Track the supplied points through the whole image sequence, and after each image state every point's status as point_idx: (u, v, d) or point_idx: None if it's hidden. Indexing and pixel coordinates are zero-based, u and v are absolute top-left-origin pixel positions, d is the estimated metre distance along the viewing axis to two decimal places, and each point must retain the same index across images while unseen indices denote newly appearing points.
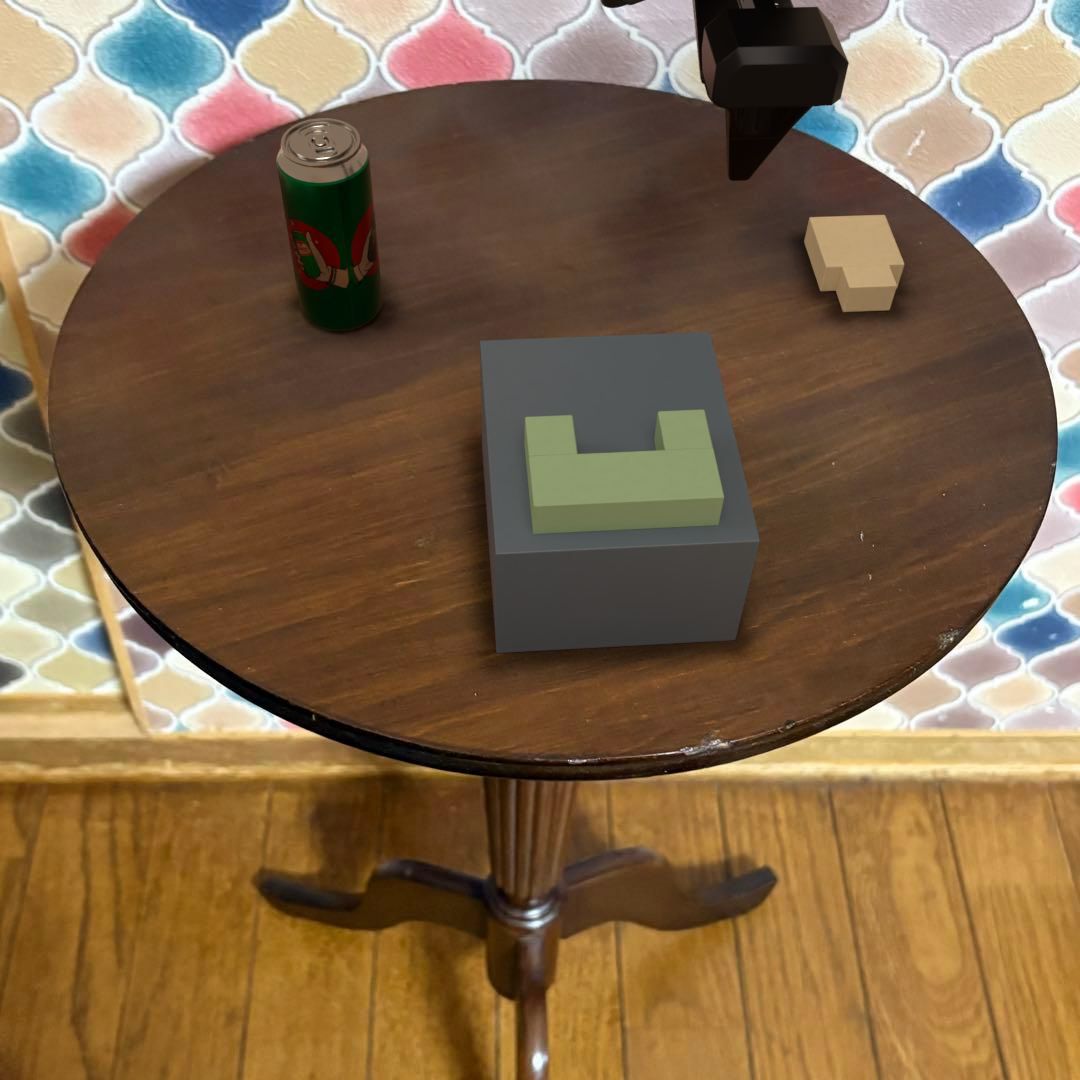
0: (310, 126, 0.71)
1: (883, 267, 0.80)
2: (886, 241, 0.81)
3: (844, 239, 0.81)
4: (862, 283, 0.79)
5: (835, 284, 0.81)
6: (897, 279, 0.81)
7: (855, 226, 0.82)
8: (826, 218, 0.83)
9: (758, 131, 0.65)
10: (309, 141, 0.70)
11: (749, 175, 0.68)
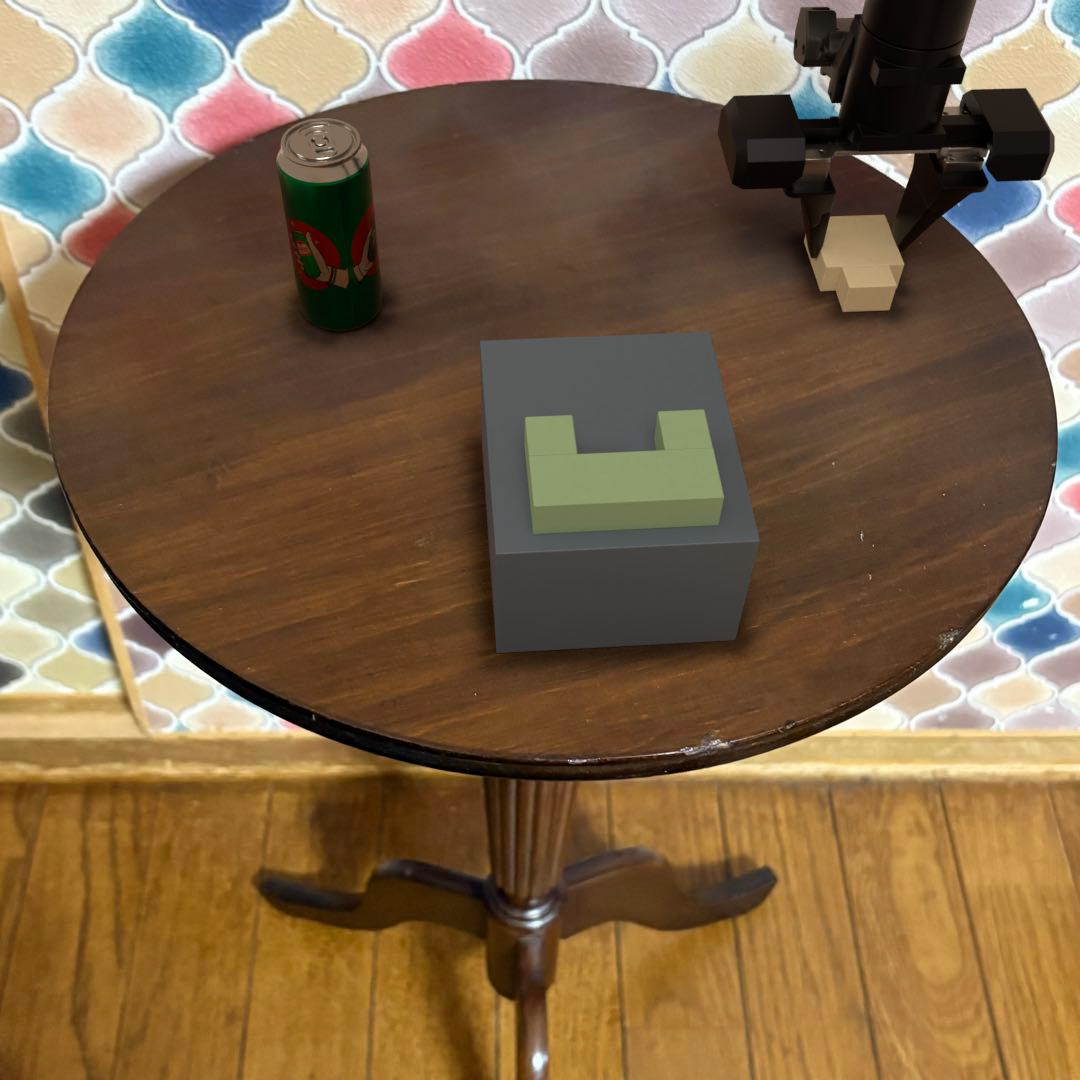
0: (310, 126, 0.71)
1: (883, 267, 0.80)
2: (886, 241, 0.81)
3: (844, 239, 0.81)
4: (862, 283, 0.79)
5: (835, 284, 0.81)
6: (897, 279, 0.81)
7: (855, 226, 0.82)
8: None
9: None
10: (309, 141, 0.70)
11: (810, 253, 0.81)
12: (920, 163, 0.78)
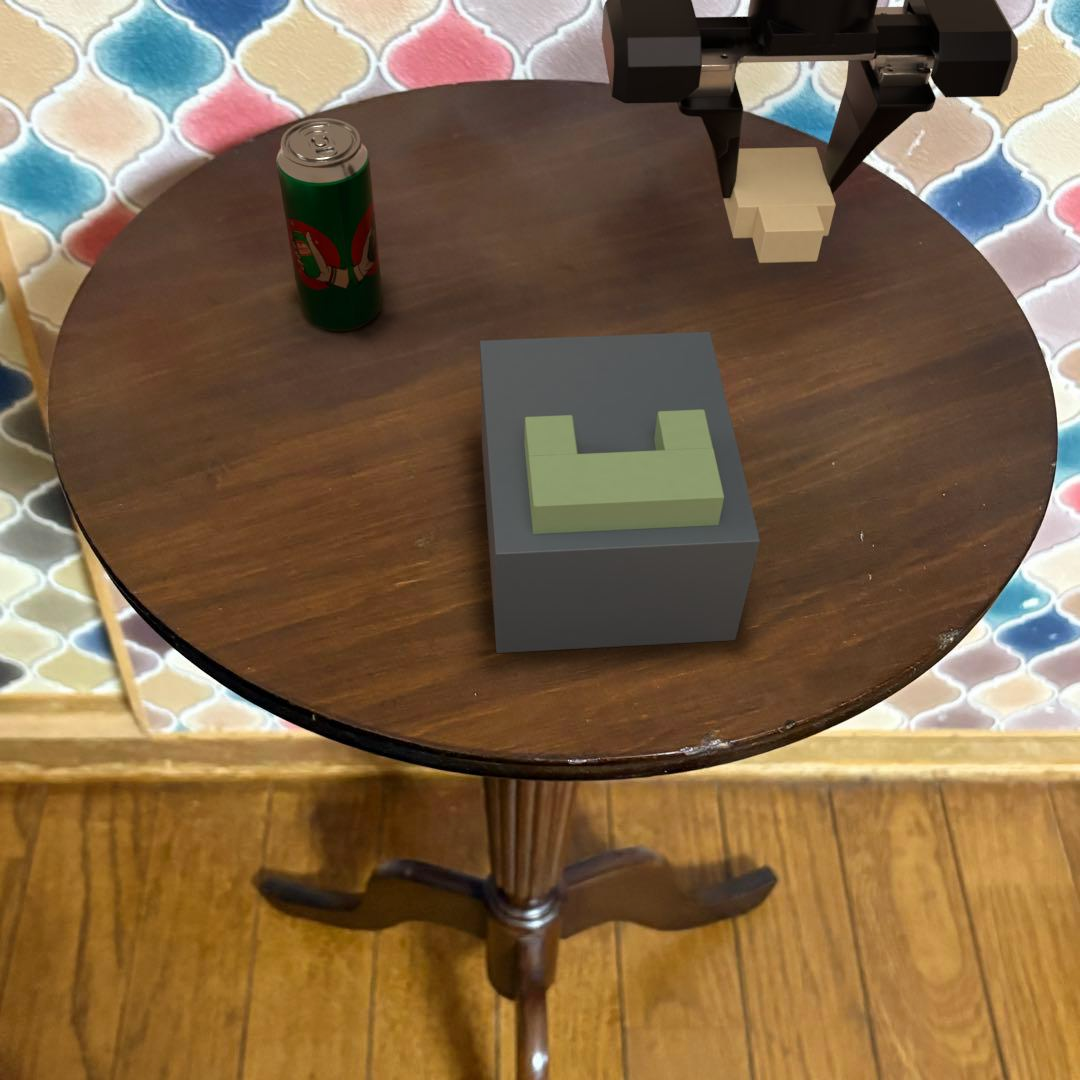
0: (310, 126, 0.71)
1: (809, 208, 0.65)
2: (815, 177, 0.66)
3: (763, 175, 0.66)
4: (781, 227, 0.64)
5: (751, 229, 0.66)
6: (827, 224, 0.66)
7: (778, 160, 0.67)
8: (744, 150, 0.68)
9: None
10: (309, 141, 0.70)
11: None
12: (854, 78, 0.63)
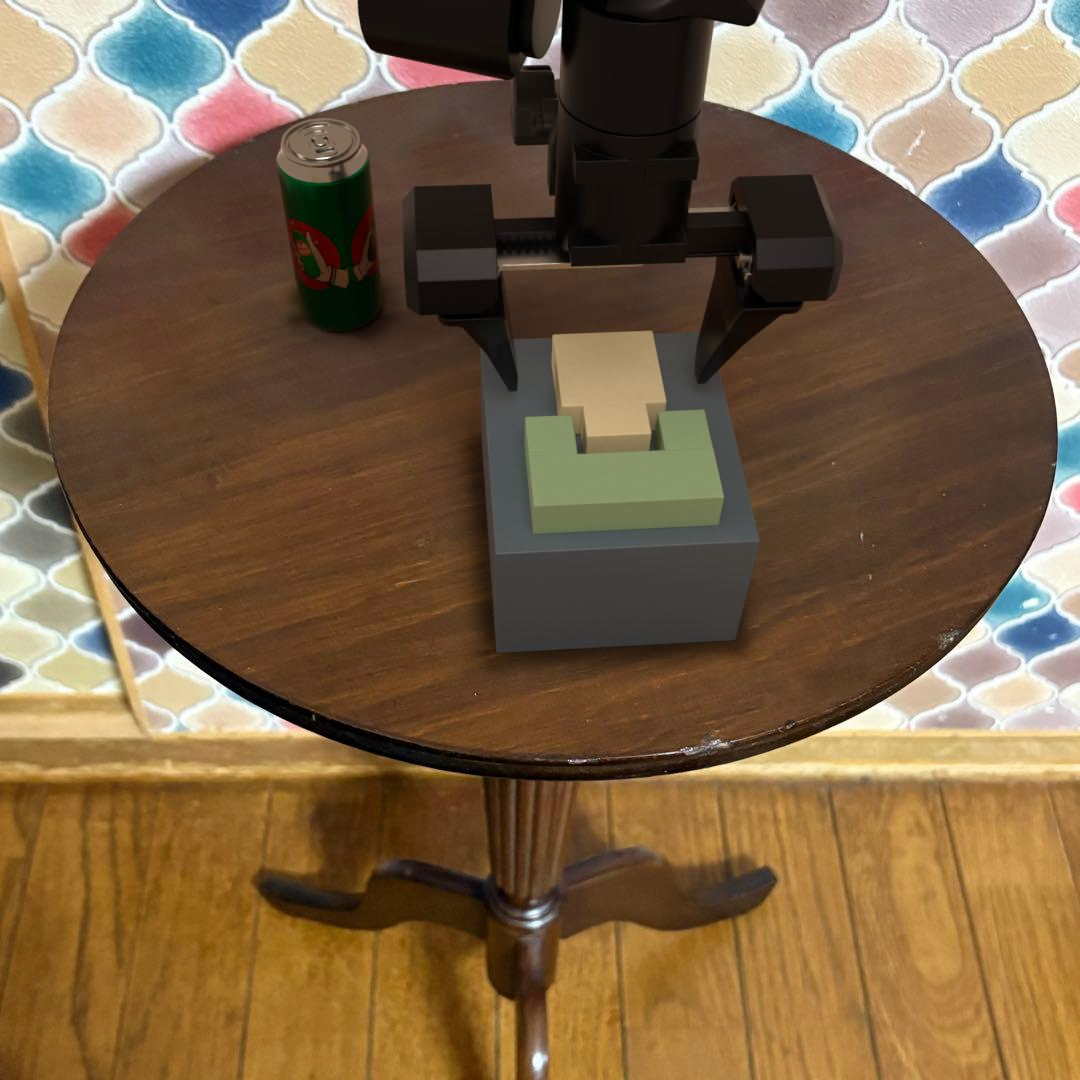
0: (310, 126, 0.71)
1: (637, 406, 0.60)
2: (647, 369, 0.62)
3: (592, 366, 0.62)
4: (605, 430, 0.59)
5: (578, 426, 0.61)
6: None
7: (610, 347, 0.63)
8: (575, 336, 0.63)
9: None
10: (309, 141, 0.70)
11: None
12: (721, 270, 0.59)
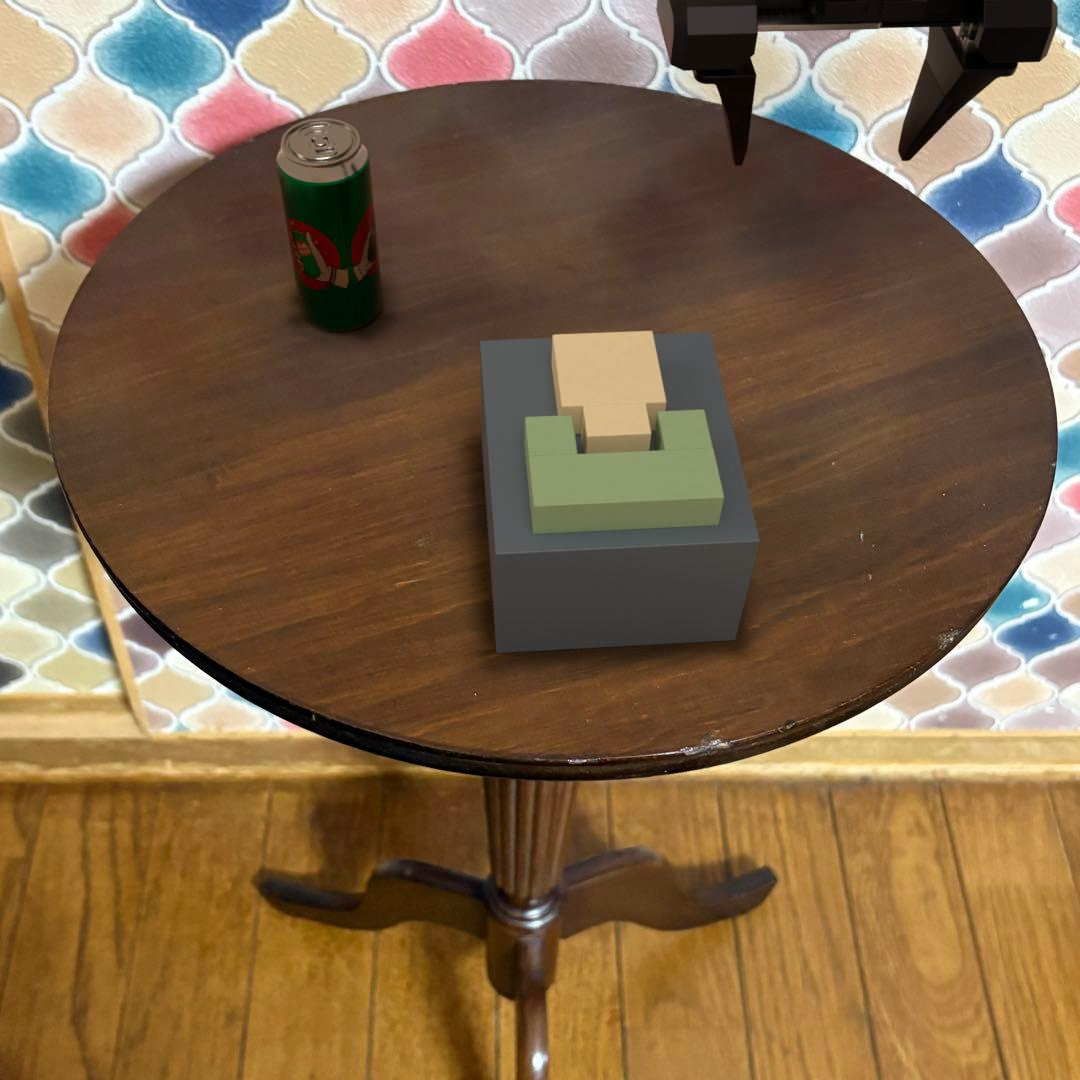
0: (310, 126, 0.71)
1: (637, 406, 0.60)
2: (647, 369, 0.62)
3: (592, 366, 0.62)
4: (605, 430, 0.59)
5: (578, 426, 0.61)
6: None
7: (610, 347, 0.63)
8: (575, 336, 0.63)
9: None
10: (309, 141, 0.70)
11: (733, 160, 0.69)
12: (936, 46, 0.66)
